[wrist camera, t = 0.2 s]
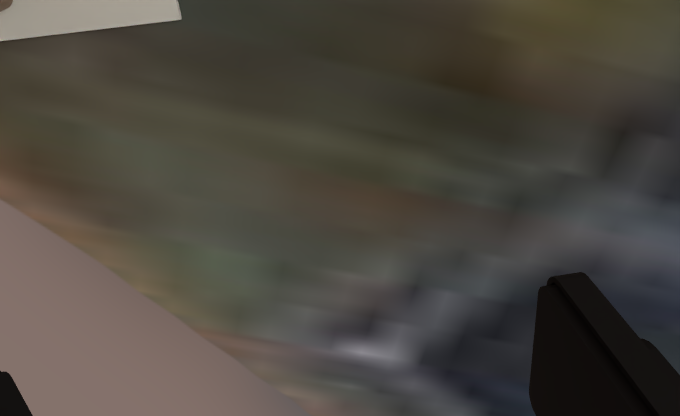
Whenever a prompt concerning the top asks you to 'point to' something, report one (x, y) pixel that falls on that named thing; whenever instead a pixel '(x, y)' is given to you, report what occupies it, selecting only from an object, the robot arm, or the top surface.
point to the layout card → (80, 16)
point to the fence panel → (5, 4)
